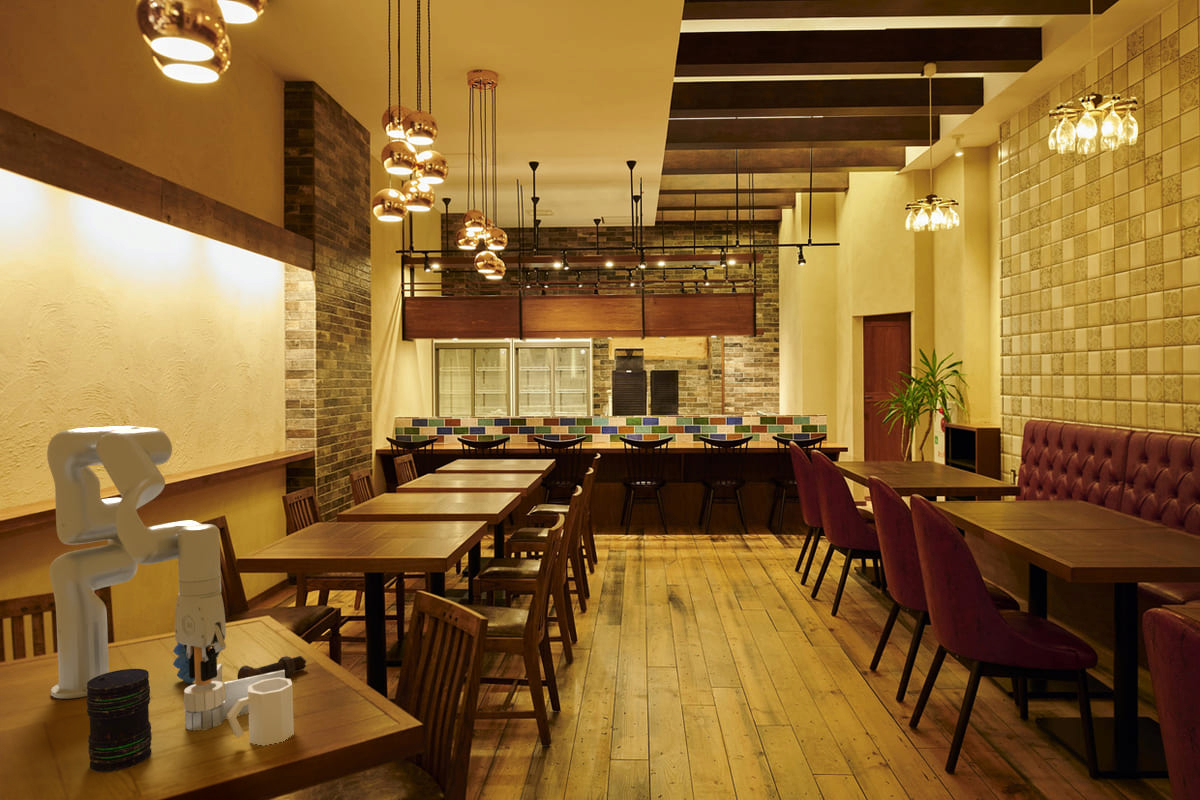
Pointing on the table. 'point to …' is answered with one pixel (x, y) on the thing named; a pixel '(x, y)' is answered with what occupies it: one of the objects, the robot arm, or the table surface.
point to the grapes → (182, 663)
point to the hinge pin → (199, 666)
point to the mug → (266, 711)
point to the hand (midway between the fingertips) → (203, 676)
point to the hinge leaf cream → (205, 694)
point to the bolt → (275, 667)
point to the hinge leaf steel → (226, 702)
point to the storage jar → (119, 720)
